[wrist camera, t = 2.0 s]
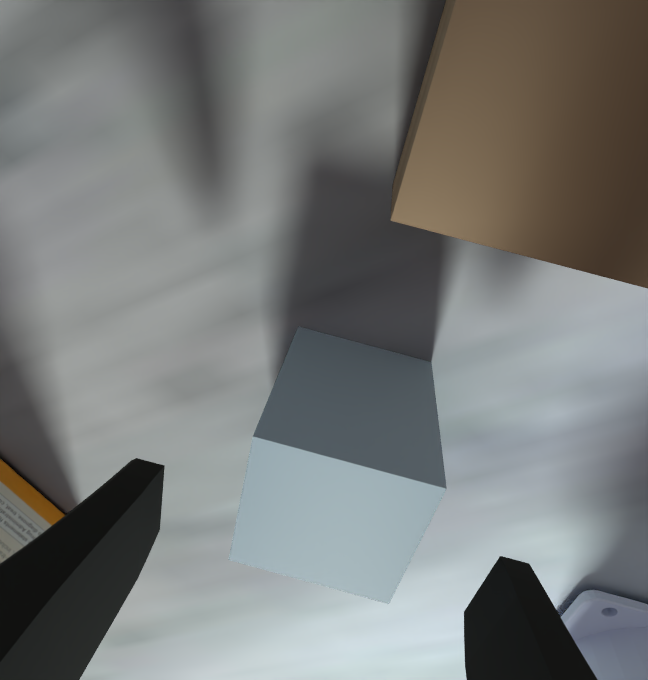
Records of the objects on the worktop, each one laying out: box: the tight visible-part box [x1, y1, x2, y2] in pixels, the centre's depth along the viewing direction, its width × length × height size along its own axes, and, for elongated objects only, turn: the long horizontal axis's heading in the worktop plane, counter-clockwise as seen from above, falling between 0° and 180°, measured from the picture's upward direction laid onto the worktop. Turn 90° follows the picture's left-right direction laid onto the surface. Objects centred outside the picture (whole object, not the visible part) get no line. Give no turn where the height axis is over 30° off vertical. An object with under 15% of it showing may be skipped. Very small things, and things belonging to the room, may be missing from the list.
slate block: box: [229, 326, 446, 604], centre depth 13 cm, size 4×4×5 cm
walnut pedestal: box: [391, 0, 648, 288], centre depth 8 cm, size 7×7×4 cm
